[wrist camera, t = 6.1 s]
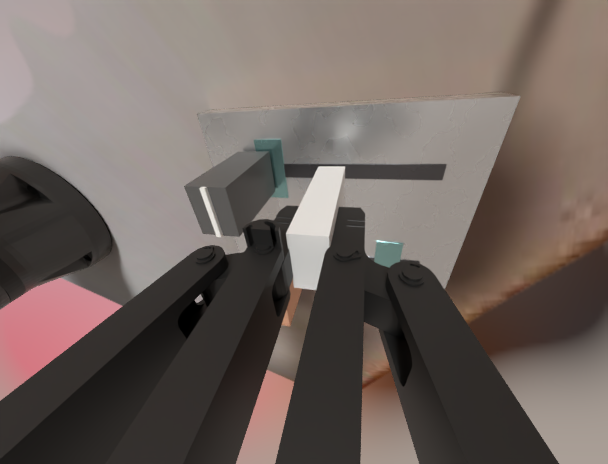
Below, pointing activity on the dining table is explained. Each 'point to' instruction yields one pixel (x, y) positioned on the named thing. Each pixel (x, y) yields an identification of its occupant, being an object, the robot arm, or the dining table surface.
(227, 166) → the fader black
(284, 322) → the block
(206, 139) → the console
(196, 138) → the dining table surface
